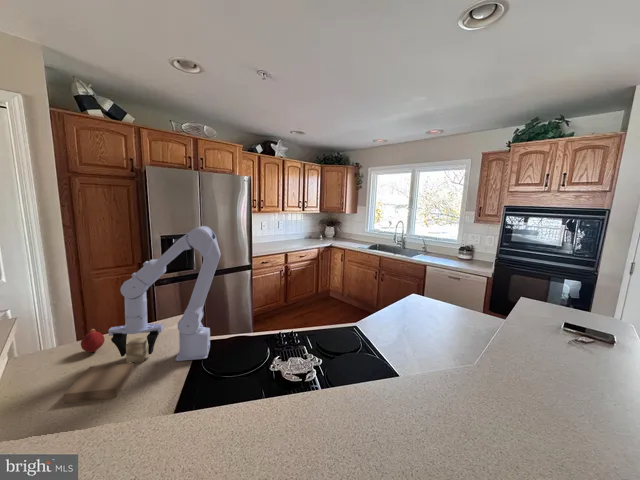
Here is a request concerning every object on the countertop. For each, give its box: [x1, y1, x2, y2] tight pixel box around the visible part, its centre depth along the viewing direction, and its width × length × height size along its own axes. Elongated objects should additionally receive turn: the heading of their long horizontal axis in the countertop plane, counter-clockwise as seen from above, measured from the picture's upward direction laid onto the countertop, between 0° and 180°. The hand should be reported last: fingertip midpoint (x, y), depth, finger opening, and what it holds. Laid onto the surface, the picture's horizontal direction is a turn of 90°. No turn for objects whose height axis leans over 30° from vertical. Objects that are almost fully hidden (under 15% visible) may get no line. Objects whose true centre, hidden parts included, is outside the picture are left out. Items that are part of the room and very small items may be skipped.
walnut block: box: [63, 363, 135, 404], centre depth 70 cm, size 11×11×3 cm
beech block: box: [125, 336, 149, 364], centre depth 82 cm, size 4×4×6 cm
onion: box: [80, 328, 106, 353], centre depth 84 cm, size 6×6×8 cm
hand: (137, 353), depth 83 cm, fingers open, 7 cm apart
